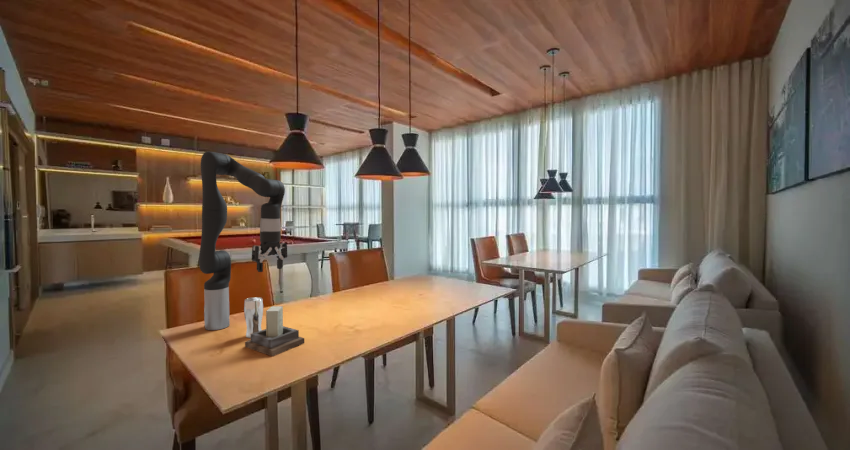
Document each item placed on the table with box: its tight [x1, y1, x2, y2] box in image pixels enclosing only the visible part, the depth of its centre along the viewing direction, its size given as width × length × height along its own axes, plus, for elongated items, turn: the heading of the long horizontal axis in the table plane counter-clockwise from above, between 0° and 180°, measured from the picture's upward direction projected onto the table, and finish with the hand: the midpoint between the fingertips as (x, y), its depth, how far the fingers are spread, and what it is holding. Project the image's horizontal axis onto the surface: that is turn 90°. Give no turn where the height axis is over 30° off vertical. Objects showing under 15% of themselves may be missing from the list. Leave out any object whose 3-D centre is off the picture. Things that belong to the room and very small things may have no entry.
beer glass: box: [243, 296, 264, 339], centre depth 142 cm, size 7×7×15 cm
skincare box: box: [265, 305, 284, 338], centre depth 132 cm, size 6×4×12 cm
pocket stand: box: [244, 325, 305, 357], centre depth 133 cm, size 16×14×5 cm
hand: (270, 270), depth 139 cm, fingers open, 8 cm apart
